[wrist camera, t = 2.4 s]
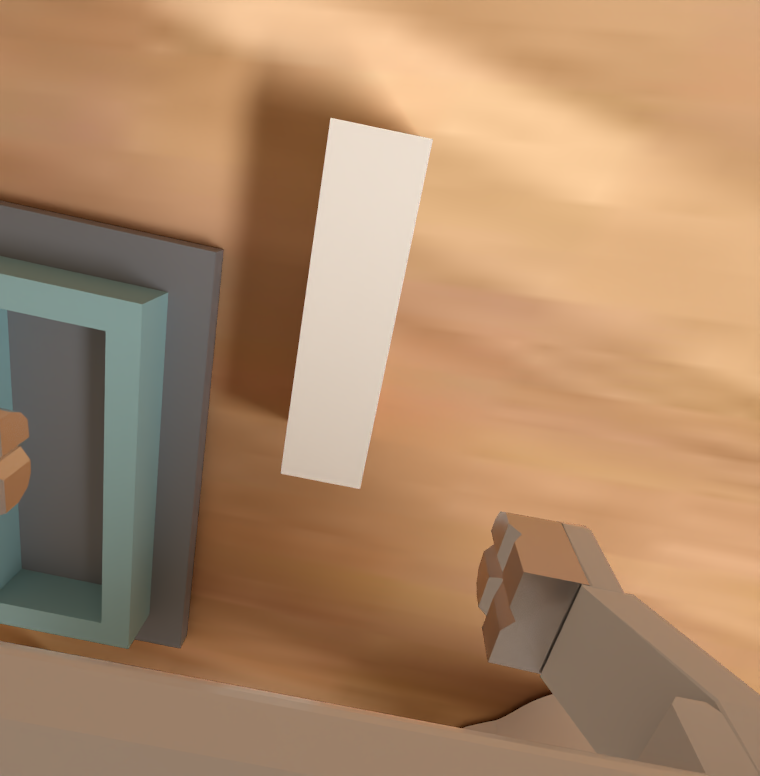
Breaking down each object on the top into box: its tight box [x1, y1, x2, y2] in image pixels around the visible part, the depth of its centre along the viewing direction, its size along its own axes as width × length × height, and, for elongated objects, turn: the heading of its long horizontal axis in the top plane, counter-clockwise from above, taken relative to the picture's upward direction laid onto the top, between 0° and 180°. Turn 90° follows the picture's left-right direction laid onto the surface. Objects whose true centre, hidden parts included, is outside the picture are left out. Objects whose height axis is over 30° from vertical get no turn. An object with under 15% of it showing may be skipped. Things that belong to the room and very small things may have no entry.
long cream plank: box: [281, 118, 433, 489], centre depth 23 cm, size 14×4×5 cm, turn 169°
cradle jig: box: [0, 201, 224, 649], centre depth 27 cm, size 24×13×4 cm, turn 168°
